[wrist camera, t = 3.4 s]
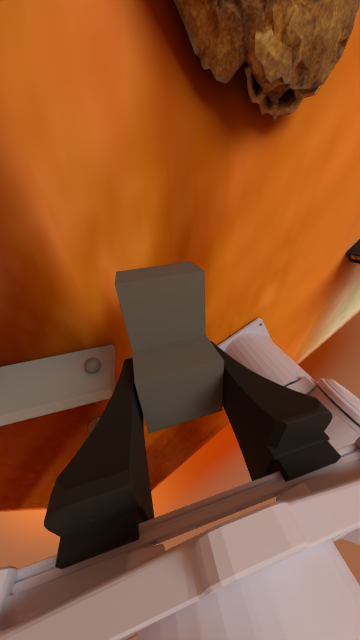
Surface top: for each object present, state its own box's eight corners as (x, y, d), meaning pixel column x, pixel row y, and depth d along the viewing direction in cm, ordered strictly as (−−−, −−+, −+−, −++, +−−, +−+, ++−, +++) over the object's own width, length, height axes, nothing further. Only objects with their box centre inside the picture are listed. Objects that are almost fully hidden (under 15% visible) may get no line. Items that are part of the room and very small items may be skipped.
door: (-33, 383, 19) (-88, 448, 14) (-52, 365, 17) (-121, 430, 12) (115, 352, 21) (114, 397, 16) (109, 333, 20) (105, 377, 15)
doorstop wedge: (116, 271, 11) (112, 304, 7) (189, 261, 12) (227, 284, 8) (140, 372, 15) (148, 433, 11) (194, 358, 16) (221, 410, 12)
